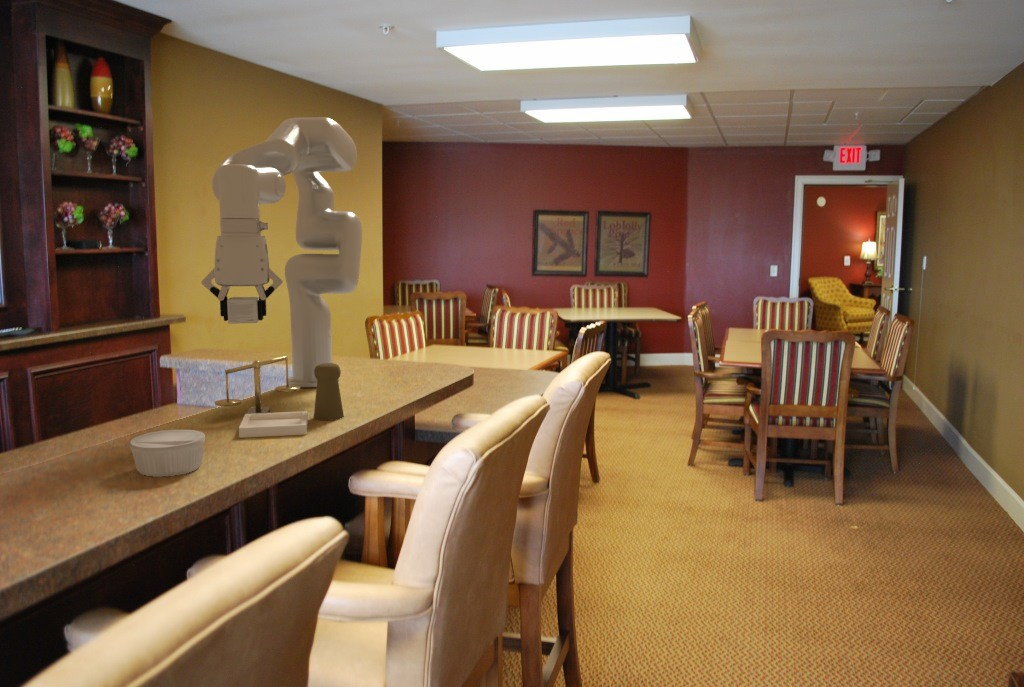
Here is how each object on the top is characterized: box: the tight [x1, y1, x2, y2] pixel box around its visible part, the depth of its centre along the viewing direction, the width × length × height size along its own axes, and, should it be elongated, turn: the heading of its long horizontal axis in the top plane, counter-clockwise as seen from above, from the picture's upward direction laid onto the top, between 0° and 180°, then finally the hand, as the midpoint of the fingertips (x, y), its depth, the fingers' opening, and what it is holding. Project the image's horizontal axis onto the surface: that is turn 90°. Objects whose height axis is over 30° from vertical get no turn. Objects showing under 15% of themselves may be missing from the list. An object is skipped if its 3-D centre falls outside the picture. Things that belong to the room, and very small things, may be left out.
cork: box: [313, 362, 345, 421], centre depth 171 cm, size 6×6×11 cm
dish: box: [238, 410, 309, 439], centre depth 162 cm, size 12×12×2 cm
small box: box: [227, 296, 260, 325], centre depth 168 cm, size 6×6×5 cm
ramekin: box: [129, 429, 206, 478], centre depth 135 cm, size 11×11×5 cm
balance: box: [214, 355, 301, 414], centre depth 172 cm, size 6×17×12 cm, turn 102°
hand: (243, 319), depth 169 cm, fingers closed on small box, 5 cm apart
